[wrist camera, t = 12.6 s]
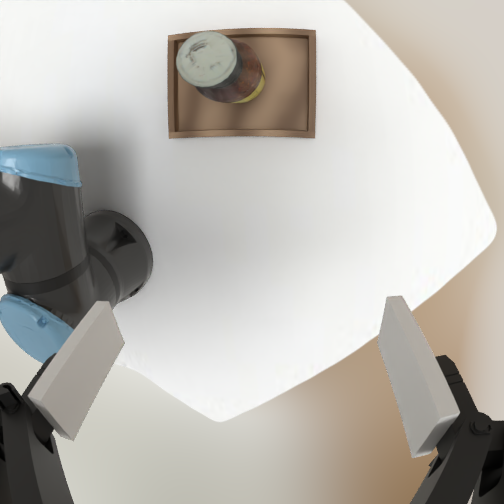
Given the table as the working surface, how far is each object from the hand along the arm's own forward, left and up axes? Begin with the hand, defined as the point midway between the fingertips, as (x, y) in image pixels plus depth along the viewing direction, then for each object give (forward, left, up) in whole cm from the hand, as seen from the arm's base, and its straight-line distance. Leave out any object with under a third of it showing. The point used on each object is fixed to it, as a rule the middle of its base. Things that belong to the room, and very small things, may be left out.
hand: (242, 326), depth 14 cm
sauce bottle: (-3, +13, -29) cm, 32 cm away
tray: (-3, +13, -30) cm, 33 cm away
